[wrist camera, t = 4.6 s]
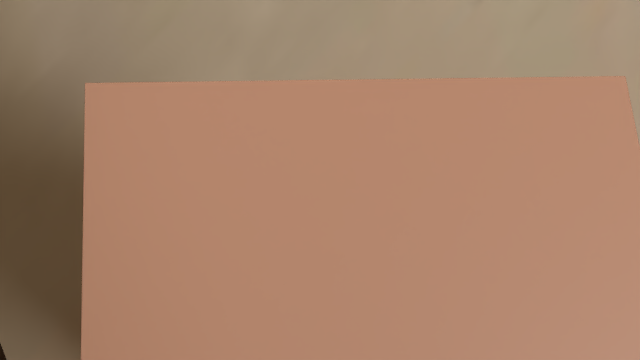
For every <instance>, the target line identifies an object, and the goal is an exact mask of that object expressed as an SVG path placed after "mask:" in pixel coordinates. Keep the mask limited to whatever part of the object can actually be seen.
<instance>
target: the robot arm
mask: <svg viewBox="0 0 640 360" xmlns="http://www.w3.org/2000/svg"><path fill="white" fill-rule="evenodd" d="M0 360H6V357H5V354H4V352H3V349H2V346H1V344H0Z"/></svg>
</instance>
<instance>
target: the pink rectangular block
mask: <svg viewBox="0 0 640 360" xmlns="http://www.w3.org/2000/svg"><path fill="white" fill-rule="evenodd" d="M81 360H640V146H639V141H638V136H637V132H636V127H635V122H634V117H633V112H632V107H631V102H630V97H629V92H628V87H627V82H626V77H625V76H602V77H523V78H444V79H365V80H286V81H207V82H128V83H85V131H84V195H83V258H82V322H81Z"/></svg>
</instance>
